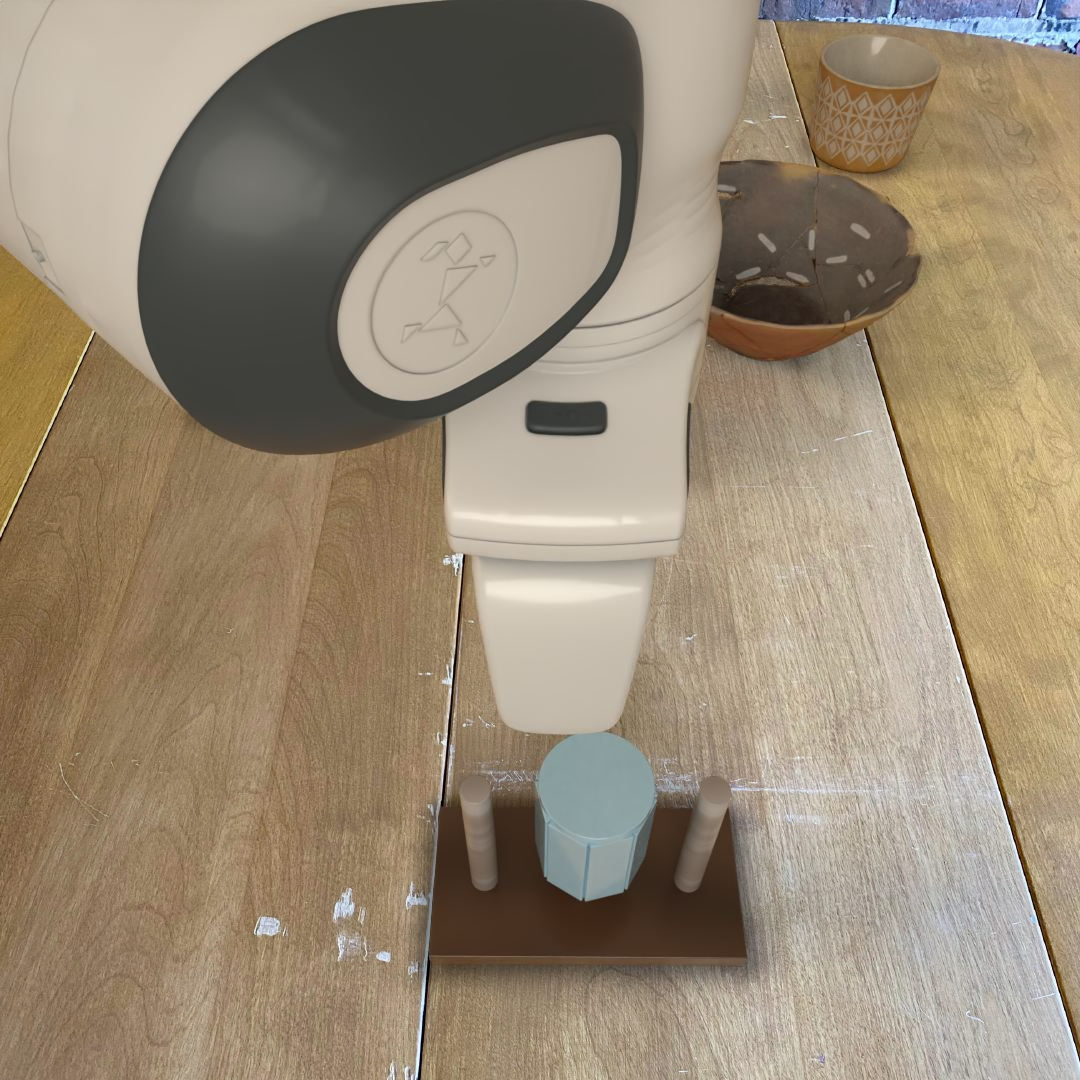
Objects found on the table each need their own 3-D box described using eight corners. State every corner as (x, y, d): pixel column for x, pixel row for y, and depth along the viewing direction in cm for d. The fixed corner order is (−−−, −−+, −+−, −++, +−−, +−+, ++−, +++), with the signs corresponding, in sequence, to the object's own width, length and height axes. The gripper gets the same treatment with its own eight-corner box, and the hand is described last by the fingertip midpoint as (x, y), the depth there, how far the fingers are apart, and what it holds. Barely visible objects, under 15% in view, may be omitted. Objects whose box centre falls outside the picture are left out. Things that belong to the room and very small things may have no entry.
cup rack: (743, 966, 57) (789, 880, 46) (430, 964, 57) (406, 877, 47) (725, 818, 63) (763, 711, 52) (441, 816, 63) (422, 709, 52)
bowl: (593, 267, 100) (598, 176, 92) (819, 232, 104) (842, 142, 96) (677, 438, 84) (691, 346, 77) (939, 389, 88) (977, 297, 80)
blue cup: (552, 910, 53) (554, 851, 47) (527, 810, 56) (526, 744, 50) (655, 884, 54) (671, 824, 48) (624, 788, 57) (635, 720, 51)
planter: (816, 114, 119) (836, 24, 111) (922, 137, 116) (950, 46, 108) (787, 165, 112) (807, 72, 104) (899, 190, 109) (928, 97, 101)
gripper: (481, 140, 37) (493, 410, 48) (437, 568, 24) (467, 807, 35) (648, 142, 37) (623, 412, 48) (693, 571, 24) (645, 810, 35)
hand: (557, 582), depth 41 cm, fingers open, 8 cm apart
